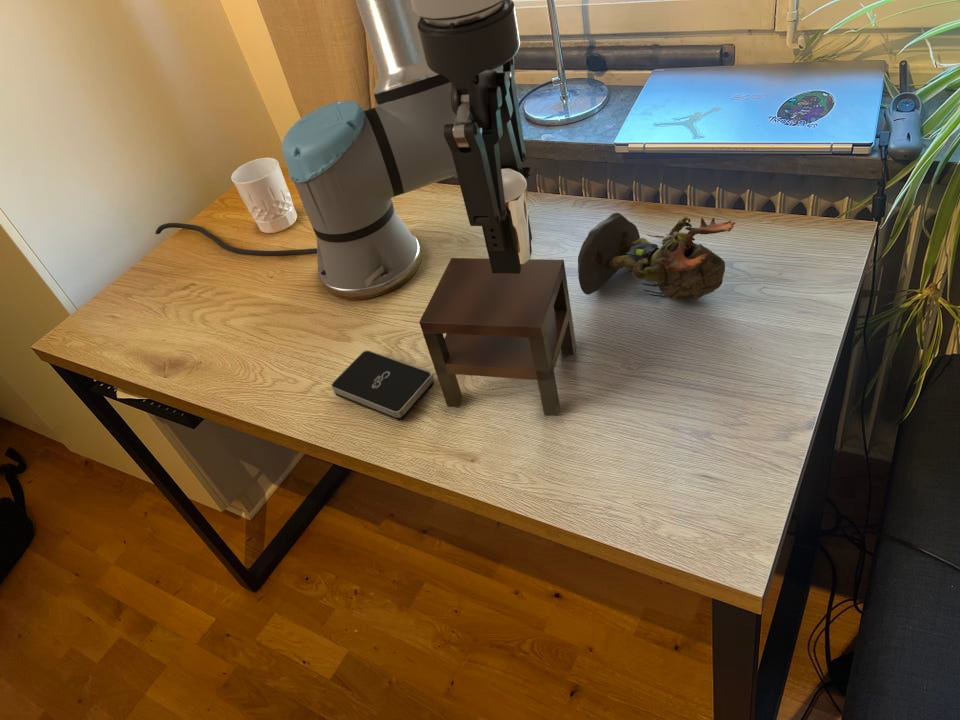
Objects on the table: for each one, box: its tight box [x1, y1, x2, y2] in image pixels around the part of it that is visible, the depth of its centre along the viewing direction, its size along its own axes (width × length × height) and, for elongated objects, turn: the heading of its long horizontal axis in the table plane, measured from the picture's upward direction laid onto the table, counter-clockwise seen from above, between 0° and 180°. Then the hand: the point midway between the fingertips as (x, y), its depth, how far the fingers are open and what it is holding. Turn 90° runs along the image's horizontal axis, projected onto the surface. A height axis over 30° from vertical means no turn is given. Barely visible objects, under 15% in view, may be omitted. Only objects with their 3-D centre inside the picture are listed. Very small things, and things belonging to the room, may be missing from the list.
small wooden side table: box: [418, 257, 577, 417], centre depth 79 cm, size 13×11×13 cm
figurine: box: [577, 212, 736, 302], centre depth 87 cm, size 14×10×18 cm
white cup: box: [230, 157, 298, 234], centre depth 118 cm, size 8×8×10 cm
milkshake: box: [501, 168, 533, 265], centre depth 66 cm, size 5×5×10 cm
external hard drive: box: [330, 349, 435, 422], centre depth 85 cm, size 7×11×2 cm, turn 56°
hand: (512, 255), depth 70 cm, fingers closed on milkshake, 4 cm apart
